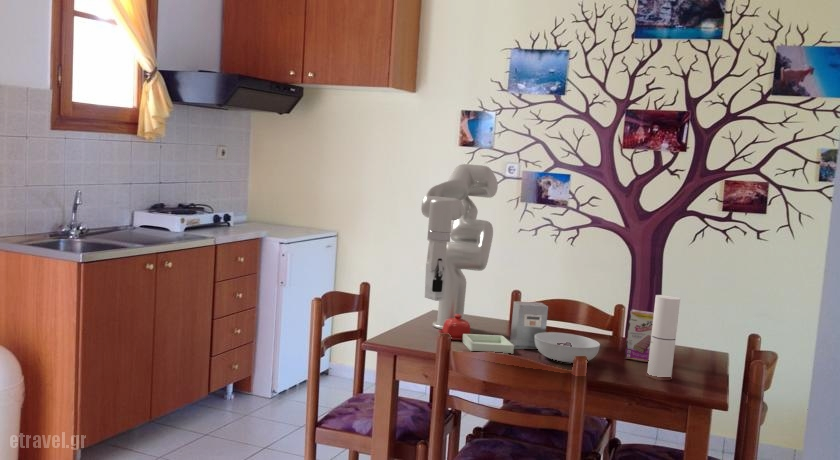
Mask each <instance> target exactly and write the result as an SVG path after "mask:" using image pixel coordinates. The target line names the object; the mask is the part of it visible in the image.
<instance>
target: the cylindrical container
mask: <svg viewBox="0 0 840 460" xmlns="http://www.w3.org/2000/svg"><path fill="white" fill-rule="evenodd" d="M680 305H681V298H680V297H678V296H674V295H666V294H655V299H654V308H653V313H654V316H653V325H652V334H651V343H650V352H649V361H648V363H647V372H646V374H647V373H648V374H649V375H652V376H657V377H671V378H672V377H673V376H672V375H673V366H674V357H675V356H674V355H675V349H676V339H677V332H678V331H677V330H678V320H679V314H680Z"/></svg>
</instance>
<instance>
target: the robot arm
mask: <svg viewBox="0 0 840 460" xmlns="http://www.w3.org/2000/svg"><path fill="white" fill-rule="evenodd" d="M497 192H498V179H497V177H496V175H495V173H494V172H493V170H492V169H491V168H490V167H489V166H487V165H479V164H469V163H464V164H463V163H462V164H459V165H456V167H455V168H454V170H453V171H452V173H451V175H450V176H449V179H447V181H444V182H441V183H439V184H435V185H433V186H432V187H431V188H429V189H428V191H427V192H426V193H425V195H424V197H423V200H422V201H421V206H420V207H421V209H420V210H421V213H422V215H423V216H424V217H425V218H428V225H427V226H428V227H427V239H426V240H427V241H428V242H429V243H428V247H427V255H426V262H428V269H429V270H430V271H432V270H434V279H433V284H432V291H433V292H442V283H443V272H444V271H445V266H446V282H445V300H442V301H438V304H437V305H438V307H437V318H436V320H434V321H433V322H432V327H433V328H436V329H439V330H442V329H443V326H444V323H445V321H446V320H447V319H451V318H455V316H454V315H455V314H460V315H461V316H462V317H461V319H464V316H465V315H464V314H465V313H464V312H465V304H466V303H465V301H466V291H467V290H466V289H467V279H466V276H465V274H464V273H463V271H462V270H467V271H476V272H477V271H478V272H479V271H480V272H481V271H483V270H485V269H486V267H487V265H488V262H489V257H490V253H491V247H492V242H493V238H494V237H493V236H494V227H493V225H492V223H491V222H490V221H488V220H483V219H477V216H478V210H479V209H478V208H477V205H476V204H475V203H474V201H473V200H472V199H471V198H470V197H478V198H489V199H490V198H493V197H494V196H495V195H496V194H497ZM451 240H452V241H451ZM437 263H438V264H437ZM437 265H438V270H436V268H437ZM436 273H437V274H436Z"/></svg>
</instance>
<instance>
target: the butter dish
mask: <svg viewBox="0 0 840 460" xmlns="http://www.w3.org/2000/svg"><path fill="white" fill-rule="evenodd" d="M454 316H455V318H451V319H447V320H446V321H445V323H444V326H443V329H439V330H438V333H439V334H440V335H441V333H449V334H450V335H451V337H452V340H451V341H462V338H463V334H472V333H471V325H470V323H469V321H467V320H466V319H464V318H463V319H461V317H462V316H461V315H460V314H455V315H454Z"/></svg>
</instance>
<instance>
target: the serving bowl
mask: <svg viewBox="0 0 840 460" xmlns="http://www.w3.org/2000/svg"><path fill="white" fill-rule="evenodd" d="M534 338H535V345H536V347H537V349H538V350H537V351H538V352H539V353H540V354H541V355H542V356H544V357H546V358H548V359H551V360H552V359H553V360H552V361H555V360H557V361H556V362H558V361H562V362H569V363H568V364H571V363H573V360H574V358H575V356H586V357H587V359H588V361H587V362H589V361H591V360H593V359H594V358H595V357H596V356H597V355H598V353H599V352H600V351H599V350H600V347H601V344H600V342H599V341H597V340H595V339H594V338H589V337H586V336H583V335H579V334H578V335H577V334H573V333H566V332H557V331H556V332H555V331H551V332H550V331H549V332H547V331H546V332H543V333H538V334H536V335H535V336H534ZM566 342H570V343H571V345H572V347H570V346H563V345H557V343H566ZM562 362H561V363H562ZM573 364H574V363H573Z"/></svg>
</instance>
